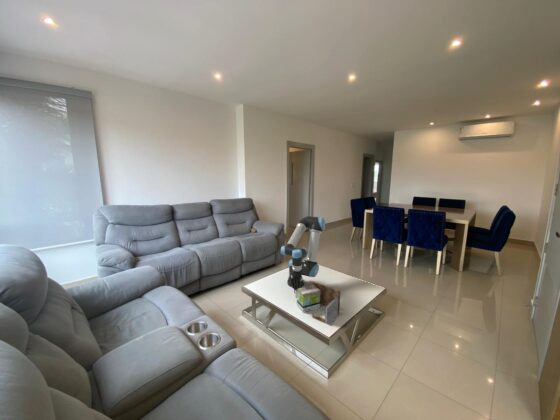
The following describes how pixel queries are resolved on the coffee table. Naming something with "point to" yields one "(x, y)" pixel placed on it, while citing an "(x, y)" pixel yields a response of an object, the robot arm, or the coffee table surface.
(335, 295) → the shelf wall
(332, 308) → the bookend
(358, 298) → the coffee table surface
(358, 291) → the coffee table surface
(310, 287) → the tea box
